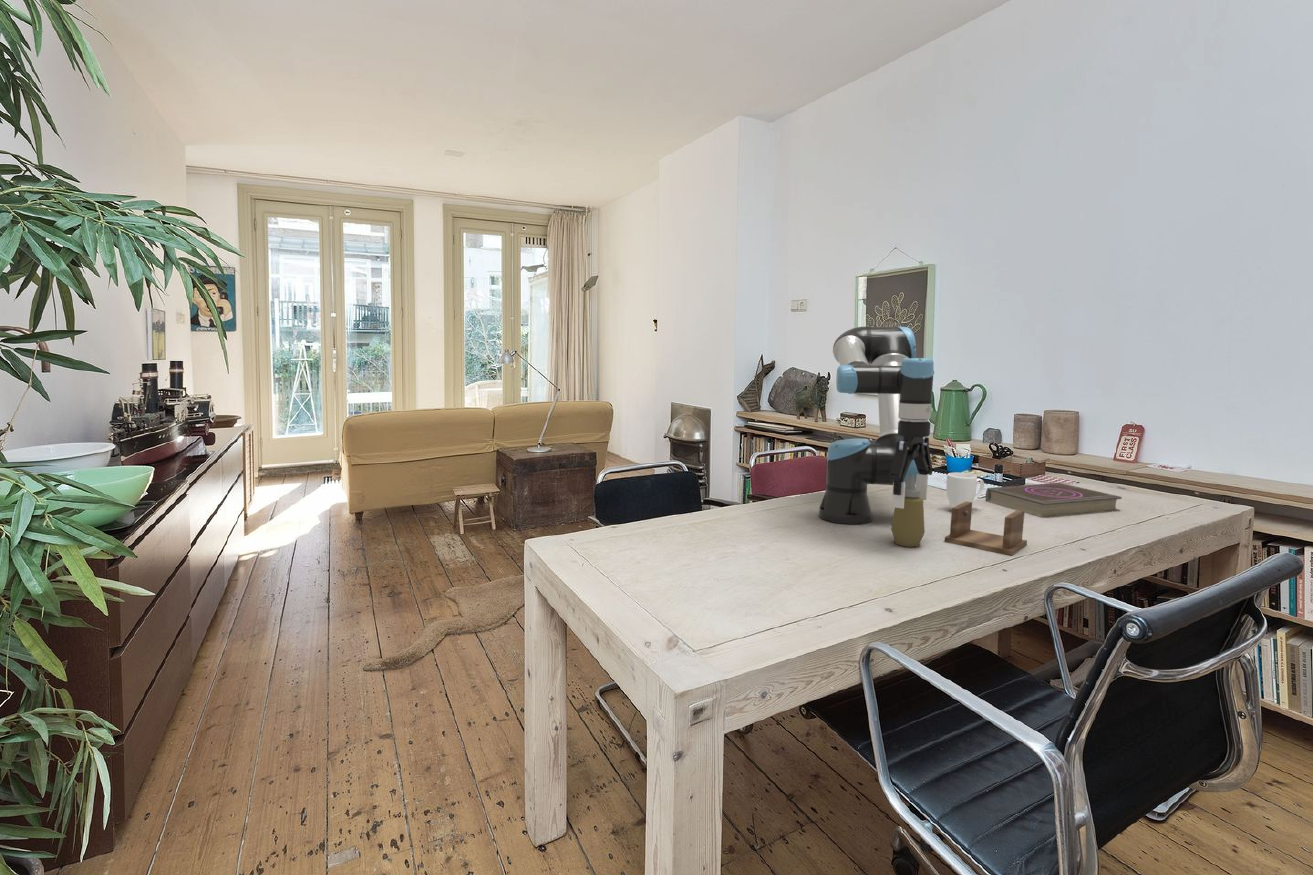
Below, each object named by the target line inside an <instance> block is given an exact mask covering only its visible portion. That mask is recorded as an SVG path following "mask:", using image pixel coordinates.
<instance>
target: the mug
mask: <svg viewBox="0 0 1313 875" xmlns="http://www.w3.org/2000/svg"><path fill="white" fill-rule="evenodd" d="M946 475H947V476H946V497H947V499H948V502H949V505H950V508H951V510H952V508H953V507H955V506H957V505H959V504H961V503H964V502H966V501H967V502H972V504H973V503H974V502H976V500H977V499H978V498H979V497H980V496H981V495H982V494H983V492H984V490H985V482H984V480H983V479H981V478H979V477H978V476H977V475H975V474H974V473H973V474H972V473H968V472H949V473H948V474H946ZM978 482H979V489H978V491H977V487H978V486H977V484H978Z"/></svg>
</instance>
